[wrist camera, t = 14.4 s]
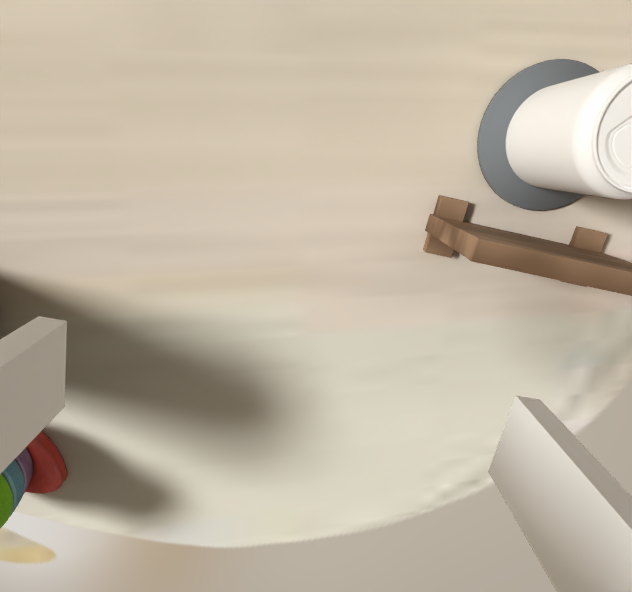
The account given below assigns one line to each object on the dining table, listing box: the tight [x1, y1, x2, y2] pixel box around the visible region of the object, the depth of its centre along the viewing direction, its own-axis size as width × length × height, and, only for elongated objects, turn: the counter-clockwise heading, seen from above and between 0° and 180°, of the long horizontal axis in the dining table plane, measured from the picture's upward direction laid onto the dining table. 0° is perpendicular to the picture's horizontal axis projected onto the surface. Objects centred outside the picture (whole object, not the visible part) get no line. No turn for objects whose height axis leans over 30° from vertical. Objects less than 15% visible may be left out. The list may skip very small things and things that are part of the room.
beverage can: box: [506, 64, 632, 200], centre depth 32 cm, size 8×8×12 cm
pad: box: [478, 59, 599, 210], centre depth 38 cm, size 12×12×1 cm
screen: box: [423, 195, 632, 296], centre depth 35 cm, size 5×16×12 cm, turn 78°
